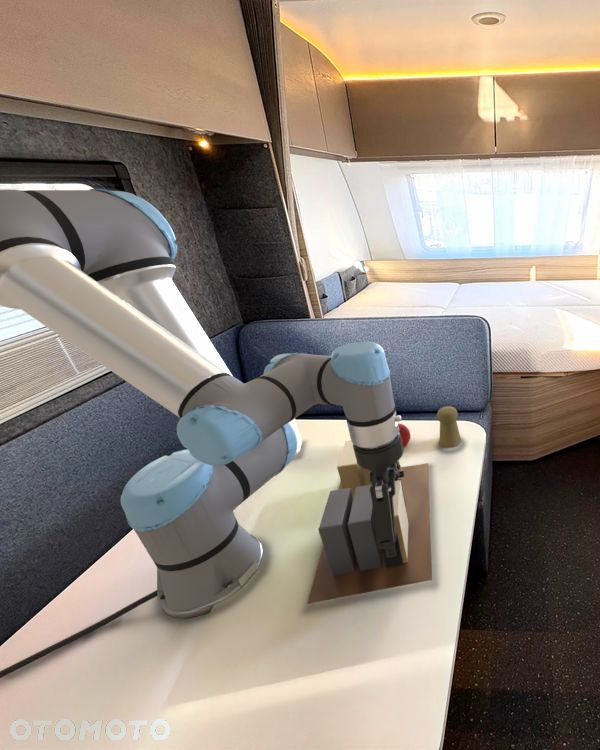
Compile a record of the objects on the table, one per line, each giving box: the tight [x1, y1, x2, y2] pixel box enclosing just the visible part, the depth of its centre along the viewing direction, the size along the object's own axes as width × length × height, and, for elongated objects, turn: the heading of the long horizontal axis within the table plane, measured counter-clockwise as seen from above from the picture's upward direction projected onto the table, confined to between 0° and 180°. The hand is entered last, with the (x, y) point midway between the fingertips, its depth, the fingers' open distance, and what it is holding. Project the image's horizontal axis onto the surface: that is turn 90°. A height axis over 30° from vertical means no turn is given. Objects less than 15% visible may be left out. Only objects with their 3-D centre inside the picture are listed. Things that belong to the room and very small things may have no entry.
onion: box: [398, 422, 412, 448], centre depth 100 cm, size 6×6×8 cm
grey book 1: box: [317, 488, 357, 576], centre depth 68 cm, size 4×9×11 cm, turn 11°
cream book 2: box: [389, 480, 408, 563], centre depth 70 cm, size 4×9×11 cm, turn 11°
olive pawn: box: [436, 405, 462, 449], centre depth 100 cm, size 6×6×11 cm
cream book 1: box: [336, 439, 366, 499], centre depth 83 cm, size 4×9×11 cm, turn 11°
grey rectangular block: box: [348, 485, 383, 571], centre depth 69 cm, size 4×9×11 cm, turn 11°
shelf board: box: [307, 463, 433, 605], centre depth 78 cm, size 20×32×1 cm, turn 11°
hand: (397, 533), depth 71 cm, fingers open, 13 cm apart
